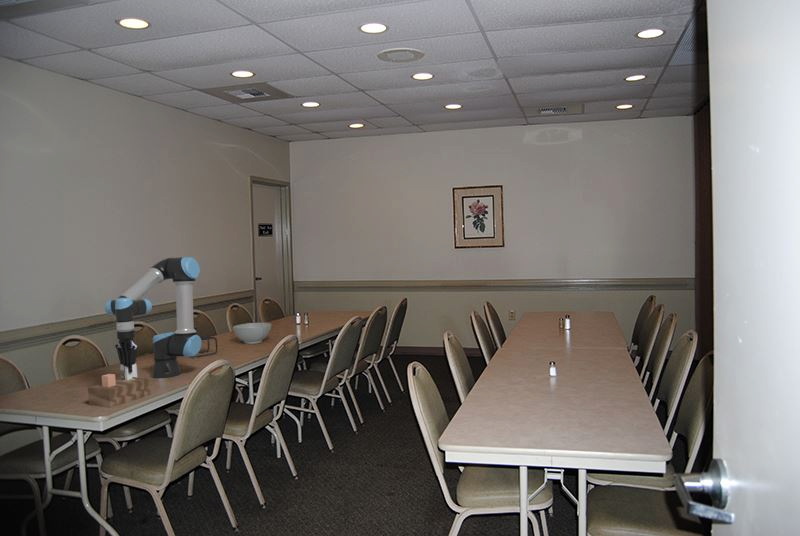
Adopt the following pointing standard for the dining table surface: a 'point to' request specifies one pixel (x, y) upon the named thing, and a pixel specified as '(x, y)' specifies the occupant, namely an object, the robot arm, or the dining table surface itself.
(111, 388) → the walnut block
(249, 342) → the decorative bowl
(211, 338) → the dark open wire frame
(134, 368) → the milk bottle
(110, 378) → the clay peg
